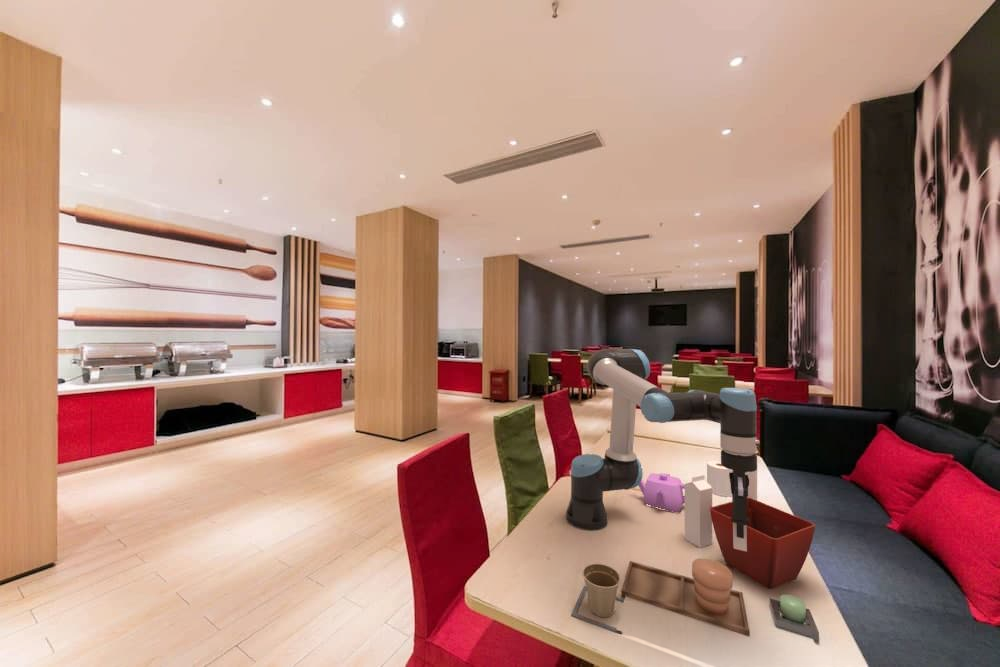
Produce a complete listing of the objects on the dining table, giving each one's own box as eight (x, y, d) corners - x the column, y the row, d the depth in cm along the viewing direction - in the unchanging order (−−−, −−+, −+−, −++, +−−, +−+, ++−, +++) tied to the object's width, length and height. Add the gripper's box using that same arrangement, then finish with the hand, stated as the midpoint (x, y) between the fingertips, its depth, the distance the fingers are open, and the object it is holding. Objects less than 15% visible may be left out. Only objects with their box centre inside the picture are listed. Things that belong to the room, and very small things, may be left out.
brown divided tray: (621, 597, 98) (621, 590, 98) (629, 566, 111) (629, 560, 111) (749, 639, 84) (749, 631, 84) (742, 599, 97) (742, 592, 97)
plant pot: (774, 603, 96) (775, 538, 96) (707, 562, 113) (708, 507, 113) (816, 584, 104) (817, 524, 104) (747, 548, 121) (748, 496, 121)
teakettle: (695, 511, 146) (696, 480, 146) (658, 516, 142) (658, 484, 142) (667, 493, 163) (667, 465, 163) (632, 497, 159) (633, 468, 159)
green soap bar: (782, 618, 88) (782, 604, 88) (778, 605, 92) (778, 592, 92) (808, 626, 86) (808, 611, 86) (802, 612, 90) (802, 598, 90)
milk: (712, 544, 123) (713, 478, 123) (699, 548, 121) (700, 481, 121) (696, 534, 129) (697, 471, 129) (683, 538, 126) (684, 474, 126)
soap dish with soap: (775, 629, 87) (775, 619, 87) (769, 607, 94) (769, 598, 94) (818, 643, 84) (819, 632, 84) (809, 619, 91) (809, 609, 91)
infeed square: (571, 615, 91) (571, 614, 91) (584, 586, 102) (584, 585, 102) (621, 634, 86) (621, 633, 86) (629, 601, 96) (629, 600, 96)
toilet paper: (710, 495, 161) (710, 467, 161) (704, 485, 171) (704, 459, 171) (736, 498, 158) (737, 470, 158) (729, 488, 168) (729, 462, 168)
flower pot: (599, 628, 87) (600, 592, 87) (574, 602, 96) (574, 569, 96) (628, 614, 92) (628, 580, 92) (601, 591, 100) (602, 559, 100)
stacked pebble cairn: (691, 609, 92) (691, 573, 93) (692, 587, 100) (692, 554, 100) (734, 623, 88) (734, 585, 88) (730, 599, 96) (731, 564, 96)
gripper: (760, 461, 83) (761, 567, 83) (754, 447, 95) (755, 540, 94) (721, 456, 87) (722, 557, 86) (720, 443, 98) (721, 532, 98)
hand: (739, 548), depth 90 cm, fingers closed
